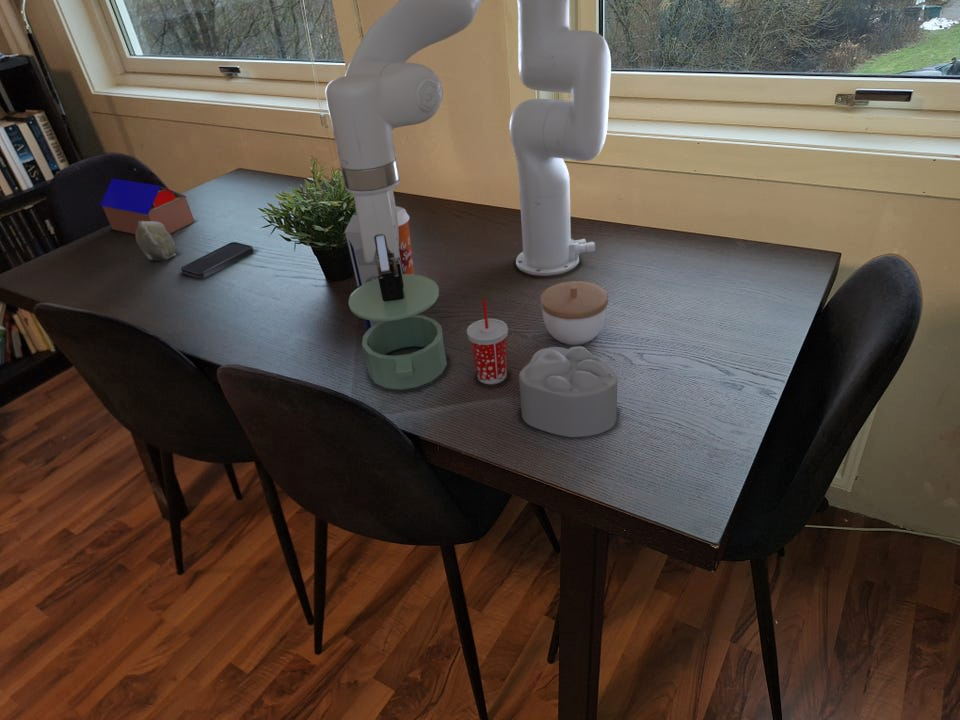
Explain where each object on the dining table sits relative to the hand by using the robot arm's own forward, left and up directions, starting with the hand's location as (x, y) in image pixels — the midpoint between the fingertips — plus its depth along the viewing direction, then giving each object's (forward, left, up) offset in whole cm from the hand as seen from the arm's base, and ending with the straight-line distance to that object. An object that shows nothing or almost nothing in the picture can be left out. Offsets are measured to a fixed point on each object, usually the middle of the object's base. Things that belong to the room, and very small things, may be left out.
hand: (393, 293), depth 99 cm
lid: (0, 0, -1) cm, 1 cm away
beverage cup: (-13, +6, -14) cm, 20 cm away
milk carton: (+3, -15, -14) cm, 21 cm away
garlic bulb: (+57, -61, -14) cm, 85 cm away
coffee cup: (+1, -30, -14) cm, 33 cm away
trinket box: (-28, -2, -14) cm, 31 cm away
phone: (+42, -53, -14) cm, 69 cm away
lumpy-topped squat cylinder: (-23, +17, -14) cm, 32 cm away
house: (+65, -83, -14) cm, 107 cm away
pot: (0, 0, -14) cm, 14 cm away
